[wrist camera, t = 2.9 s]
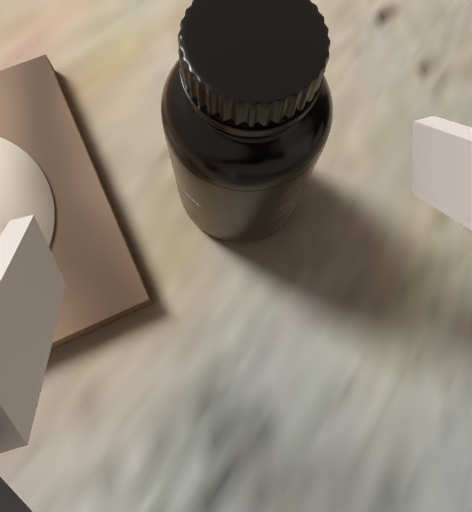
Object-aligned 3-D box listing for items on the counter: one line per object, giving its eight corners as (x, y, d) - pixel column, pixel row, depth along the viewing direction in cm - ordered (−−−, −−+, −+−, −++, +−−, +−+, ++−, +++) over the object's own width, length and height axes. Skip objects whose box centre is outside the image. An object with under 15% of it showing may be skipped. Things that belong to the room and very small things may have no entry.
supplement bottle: (158, 213, 24) (97, 71, 13) (213, 119, 26) (205, -83, 14) (267, 267, 24) (308, 170, 12) (317, 166, 25) (396, -4, 14)
